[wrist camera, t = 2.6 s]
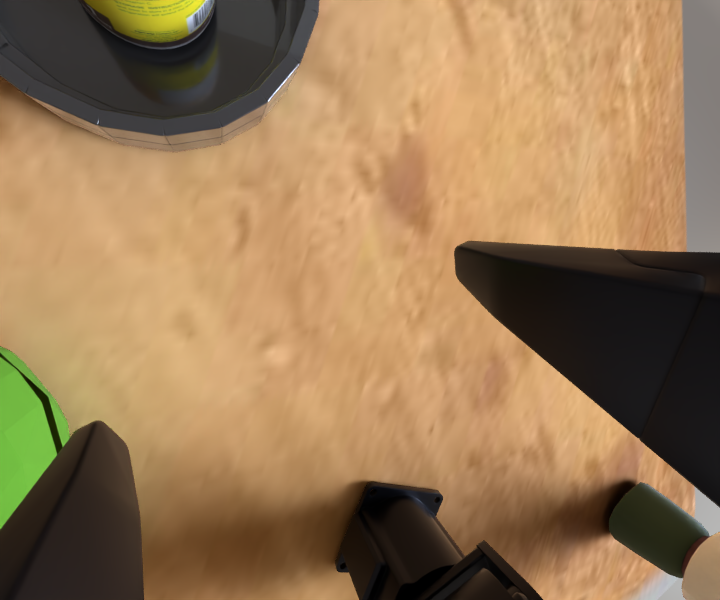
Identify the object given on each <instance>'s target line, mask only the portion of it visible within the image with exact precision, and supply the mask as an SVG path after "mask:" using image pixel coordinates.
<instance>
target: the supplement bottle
mask: <svg viewBox="0 0 720 600" xmlns="http://www.w3.org/2000/svg"><path fill="white" fill-rule="evenodd" d="M78 1H79V2H80V3H81V5H82V6H83V7H84V8H85V9H86V11H87V12H88V13H89V14H90V15H91V16H92V17H93V18H94V19H95V20H96V21H97V22H99V23H100V24H101V25H102V26H103V27H105V28H106V29H107V30H109V31H110V32H111V33H113V34H114V35H116V36H118V37H119V38H121V39H123V40H125V41H127V42H130V43H132V44H135V45H138V46H141V47H146V48H151V49H172V48H177V47H180V46H183V45H186V44H188V43H190V42H191V41H193V40H194V39H196V38H197V37H198V36H199V35H200V34H201V33H202V32H203V31H204V30H205V28H206V27H207V25H208V24H209V22H210V19H211V17H212V15H213V12H214V8H215V2H216V0H78Z"/></svg>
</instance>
